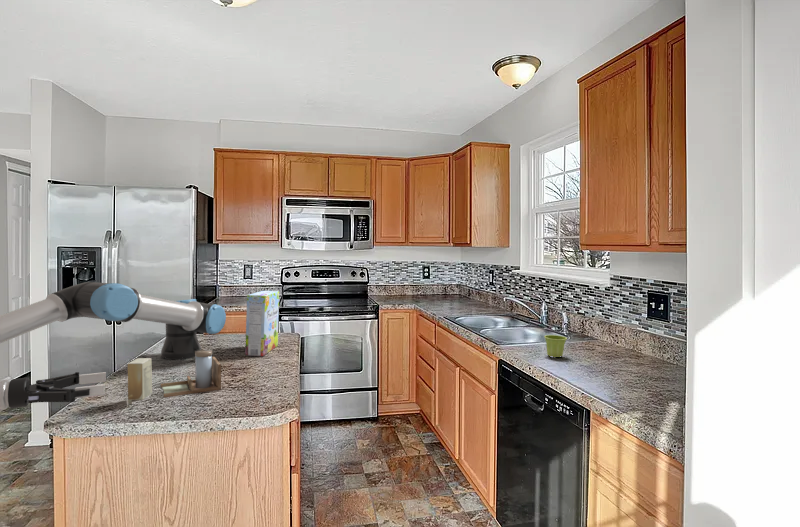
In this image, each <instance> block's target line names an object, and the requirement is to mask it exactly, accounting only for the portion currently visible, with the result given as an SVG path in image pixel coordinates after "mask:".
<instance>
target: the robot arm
mask: <svg viewBox="0 0 800 527" xmlns="http://www.w3.org/2000/svg"><path fill="white" fill-rule="evenodd" d="M76 318H89V319H98V320H105V321H108V322H109V321H110V322H121V323H128V322H130V321H132V320H133V319H134V320H139V321H144V322H145V321H147V322H153V323H159V324H165V339H164V342H163V345H162V348H161V350H160V351H161V352H160V357H161V358H162V359H165V360H166V359H167V360H168V359H169V360H181V359H183V360H184V359H188V358H189V359H190V358H195V351H198V350H202V348H201V345H200V341H199V339H198V336H197V333H202V334H208V335H215V334H218V333H220V332H221V331H222V330H223V329H224V327H225V324H226V320H227V315H226V310H225V308H224V307H223V306H221V305H219V304H217V303H215V304H211V303H204V302H199V301H197V299H196V298H191V299H190V298H188V299H180V300H171V299H170V300H169V299H166V298H161V297H155V296H150V295H145V294H140V292H139V291H138V289H136V288H133V287H129V286H128V285H125V284H122V283H118V282H117V283H116V282H112V283H111V282H110V283H109V282H95V281H94V282H93V281H87V282H81V283H78V284H75V285H71V286H69V287H66V288H62V289H60V290H57V291H55V292H52V293H49V294H48V295H47V296H46V298H45V299H42V300H39V301H37V302H34V303H31V304H29V305H26V306H23V307H20V308H18V309H14V310H12V311H9V312H6V313H3V314H0V344H2V343H4V342H8V341H9V340H11V339H15V338H18V337H20V336H22V335H25V334H27V333H30V332H32V331H35V330H37V329H40V328H42V327H45V326H48V325H49V324H52V323H54V322H60V323H63V322H65V321H68V320H71V319H76ZM106 378H107V372H106V371H104V372H103V371H102V372H95V373H83V374H80V372H79V371H77V372H75V373H69V374H66V375H61V376H56V377H52V378H51V377H50V378H47V379H46V378H44V379H37V380H36V381H35V383H33V384H30V383H31V382H30V378H28V377H22V378H21V377H19V378H12V379H10V381H9V379H1V380H0V410H7V408H10V409H18V408H19V409H20V408H25V407H27V406H28V405H29V404H34V403H35V404H36V403H69V402H70V403H75V402H76V399H81V398H88V397H89V398H90V397H98V396H104V395H105V388H106V387H105V384H103V383H105V382H106V381H107V379H106ZM97 383H101V384H97ZM78 384H79V385H81V386H78V387H75V388H68V387H71V386H75V385H78ZM88 384H89V385H88ZM90 384H94V385H90ZM82 385H86V386H82Z"/></svg>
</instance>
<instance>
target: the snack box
mask: <svg viewBox="0 0 800 527" xmlns="http://www.w3.org/2000/svg"><path fill="white" fill-rule="evenodd" d="M279 309H280V291H278V290H261V291H257V292H253V293H250V294H247V295H246V316H245V317H246V321H245V322H246V323H245V324H246V325H245V348H244V349H245V350H244V352H245V353H244V355H245V356H249V357H250V356H251V357H264V356H266V355H268V353H270V352H271V351H272V350H275V348H276V347H278V344H279V315H280V314H279Z"/></svg>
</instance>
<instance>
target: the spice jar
mask: <svg viewBox="0 0 800 527" xmlns="http://www.w3.org/2000/svg"><path fill="white" fill-rule="evenodd" d="M212 357H213V349H201V350H198V351H195V357H194V358H195V363H194V364H195V365H194V366H195V369H194V370H195V377H194V378H195V379H194V380H195V387H196V388H208V387H211V386H212Z"/></svg>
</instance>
